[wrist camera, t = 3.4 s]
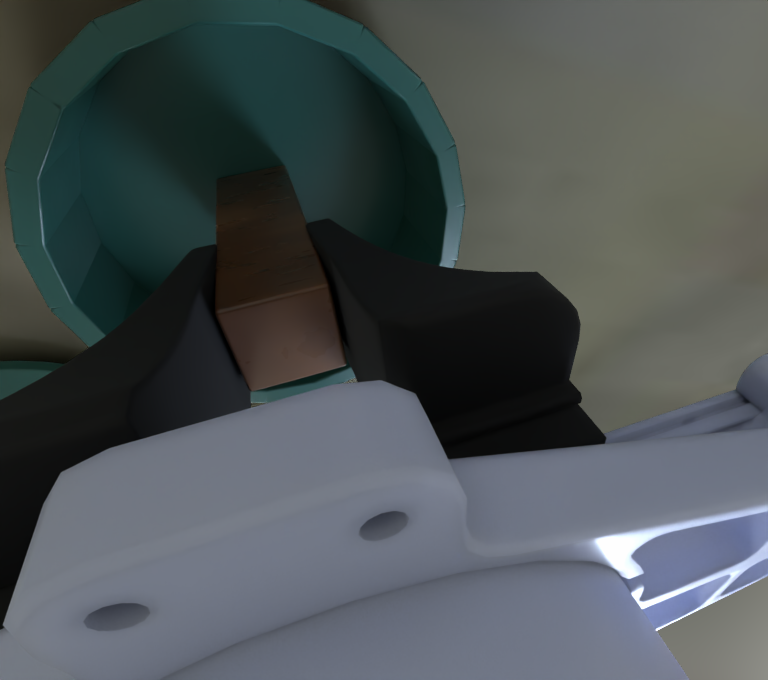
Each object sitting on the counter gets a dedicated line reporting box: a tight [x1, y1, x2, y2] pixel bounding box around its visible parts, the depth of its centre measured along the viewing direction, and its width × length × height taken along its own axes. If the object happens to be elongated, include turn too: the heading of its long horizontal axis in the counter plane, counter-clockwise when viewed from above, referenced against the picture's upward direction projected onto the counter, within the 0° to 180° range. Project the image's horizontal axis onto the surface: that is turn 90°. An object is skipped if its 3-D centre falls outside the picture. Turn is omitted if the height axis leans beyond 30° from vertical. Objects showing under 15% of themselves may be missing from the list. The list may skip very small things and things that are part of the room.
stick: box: [215, 165, 347, 391], centre depth 12 cm, size 2×2×8 cm
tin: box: [5, 0, 465, 403], centre depth 13 cm, size 11×11×4 cm
